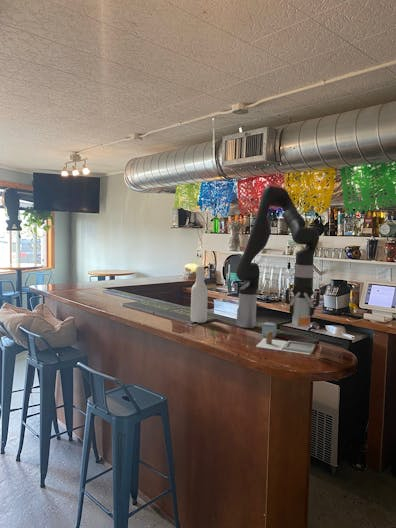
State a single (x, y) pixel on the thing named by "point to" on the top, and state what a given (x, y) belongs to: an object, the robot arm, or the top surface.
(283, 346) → the board
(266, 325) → the blue-grey block
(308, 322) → the skincare box
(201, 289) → the alcohol
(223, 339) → the top surface
